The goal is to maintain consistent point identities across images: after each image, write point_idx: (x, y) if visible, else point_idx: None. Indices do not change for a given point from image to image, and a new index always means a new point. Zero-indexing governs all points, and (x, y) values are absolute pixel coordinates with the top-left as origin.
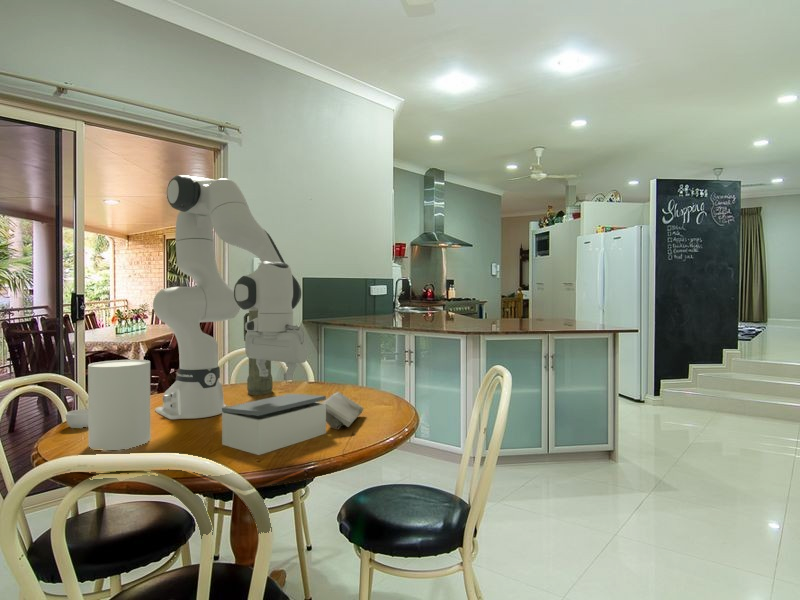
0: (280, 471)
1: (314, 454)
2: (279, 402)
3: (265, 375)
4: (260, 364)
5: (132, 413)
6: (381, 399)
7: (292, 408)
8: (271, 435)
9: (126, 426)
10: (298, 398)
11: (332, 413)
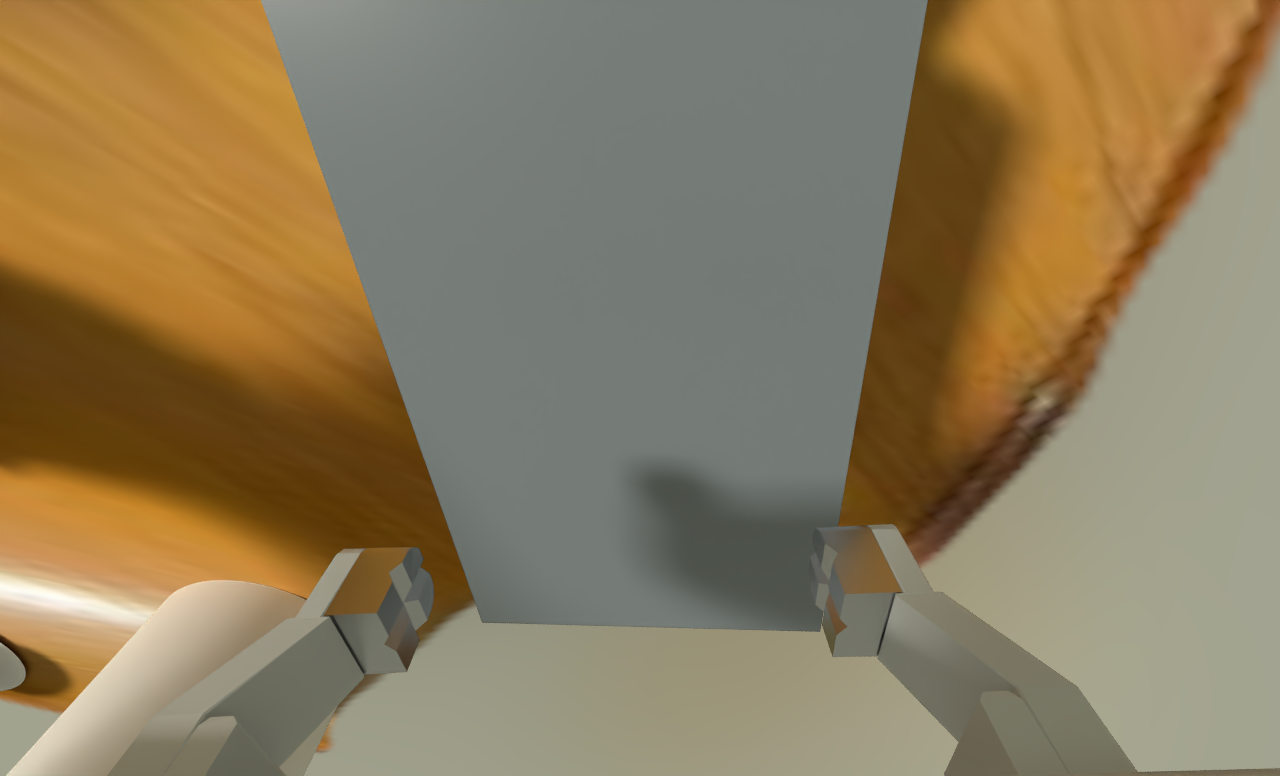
0: (974, 511)
1: (989, 327)
2: (693, 417)
3: (414, 576)
4: (275, 740)
5: (285, 772)
6: None
7: None
8: None
9: (318, 732)
10: (703, 213)
11: None
